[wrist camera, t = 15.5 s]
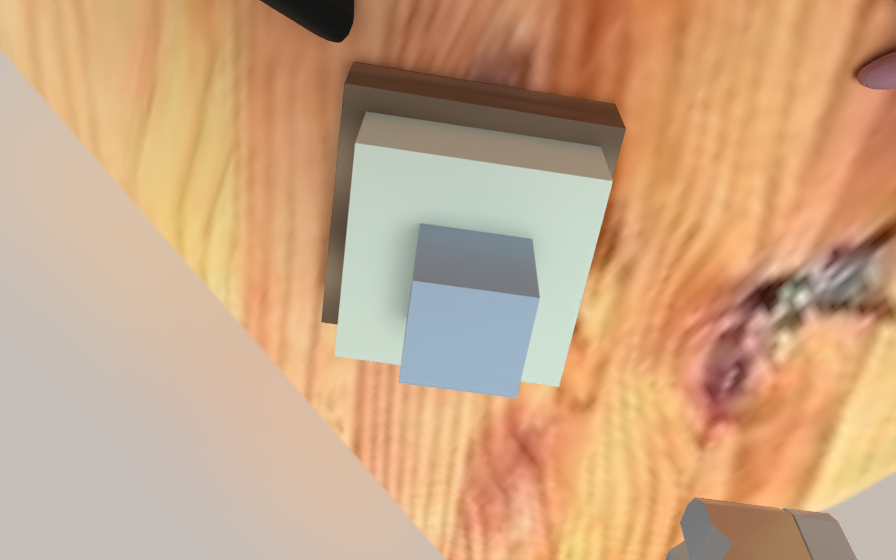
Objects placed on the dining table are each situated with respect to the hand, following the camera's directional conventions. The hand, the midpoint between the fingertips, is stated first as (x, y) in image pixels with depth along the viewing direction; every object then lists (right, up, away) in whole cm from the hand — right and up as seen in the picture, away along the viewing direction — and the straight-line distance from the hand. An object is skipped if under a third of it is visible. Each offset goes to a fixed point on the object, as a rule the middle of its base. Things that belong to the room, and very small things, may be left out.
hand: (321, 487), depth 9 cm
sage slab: (+2, +5, +33) cm, 33 cm away
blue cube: (+2, +2, +29) cm, 30 cm away
